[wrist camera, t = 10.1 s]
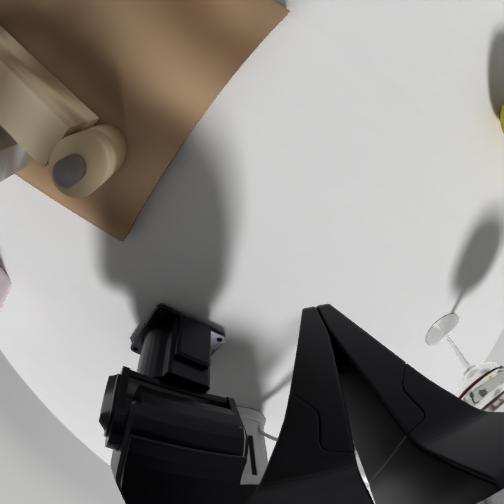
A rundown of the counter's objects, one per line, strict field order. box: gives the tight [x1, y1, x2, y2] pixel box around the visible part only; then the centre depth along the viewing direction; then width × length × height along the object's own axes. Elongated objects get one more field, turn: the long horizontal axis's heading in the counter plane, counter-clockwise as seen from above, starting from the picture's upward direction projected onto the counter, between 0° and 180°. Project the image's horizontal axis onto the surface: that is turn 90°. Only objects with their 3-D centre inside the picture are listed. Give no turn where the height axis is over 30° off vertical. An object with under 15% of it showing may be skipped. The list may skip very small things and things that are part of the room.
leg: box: [0, 26, 128, 198], centre depth 11 cm, size 17×3×4 cm, turn 42°
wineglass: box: [426, 314, 504, 412], centre depth 24 cm, size 7×7×12 cm
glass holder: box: [237, 407, 278, 504], centre depth 27 cm, size 9×14×15 cm, turn 122°
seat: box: [0, 0, 290, 242], centre depth 10 cm, size 18×20×6 cm
